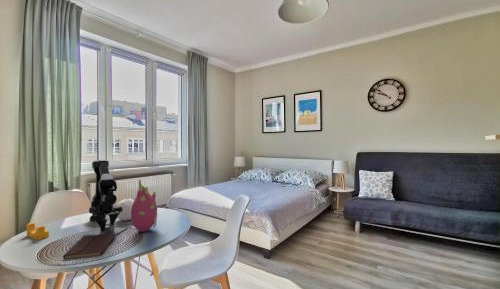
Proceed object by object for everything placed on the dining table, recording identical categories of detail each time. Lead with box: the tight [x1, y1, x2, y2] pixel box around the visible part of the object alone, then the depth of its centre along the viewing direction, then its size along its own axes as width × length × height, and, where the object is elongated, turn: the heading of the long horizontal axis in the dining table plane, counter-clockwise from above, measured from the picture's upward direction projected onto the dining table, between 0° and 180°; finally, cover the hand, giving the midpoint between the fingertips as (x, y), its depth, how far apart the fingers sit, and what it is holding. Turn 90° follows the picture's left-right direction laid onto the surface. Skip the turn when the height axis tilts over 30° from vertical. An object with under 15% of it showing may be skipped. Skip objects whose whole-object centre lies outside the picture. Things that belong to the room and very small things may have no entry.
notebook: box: [62, 234, 117, 260], centre depth 113 cm, size 15×20×2 cm
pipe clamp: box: [26, 222, 50, 240], centre depth 126 cm, size 12×4×6 cm, turn 66°
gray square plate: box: [89, 226, 128, 236], centre depth 130 cm, size 14×14×4 cm
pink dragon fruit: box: [130, 179, 158, 233], centre depth 133 cm, size 18×14×30 cm
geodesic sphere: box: [115, 198, 135, 222], centre depth 153 cm, size 15×14×14 cm
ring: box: [99, 222, 115, 233], centre depth 130 cm, size 7×7×3 cm
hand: (107, 228), depth 130 cm, fingers closed on ring, 7 cm apart
